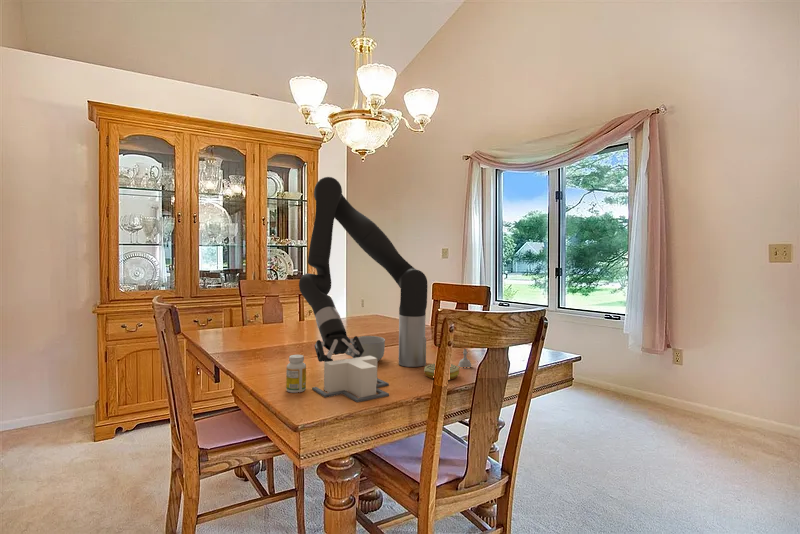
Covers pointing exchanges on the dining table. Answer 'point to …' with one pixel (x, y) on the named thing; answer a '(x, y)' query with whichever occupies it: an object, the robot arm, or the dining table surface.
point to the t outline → (356, 399)
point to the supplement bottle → (296, 374)
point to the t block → (351, 376)
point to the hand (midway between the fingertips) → (347, 369)
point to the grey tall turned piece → (465, 360)
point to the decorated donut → (430, 369)
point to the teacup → (372, 346)
